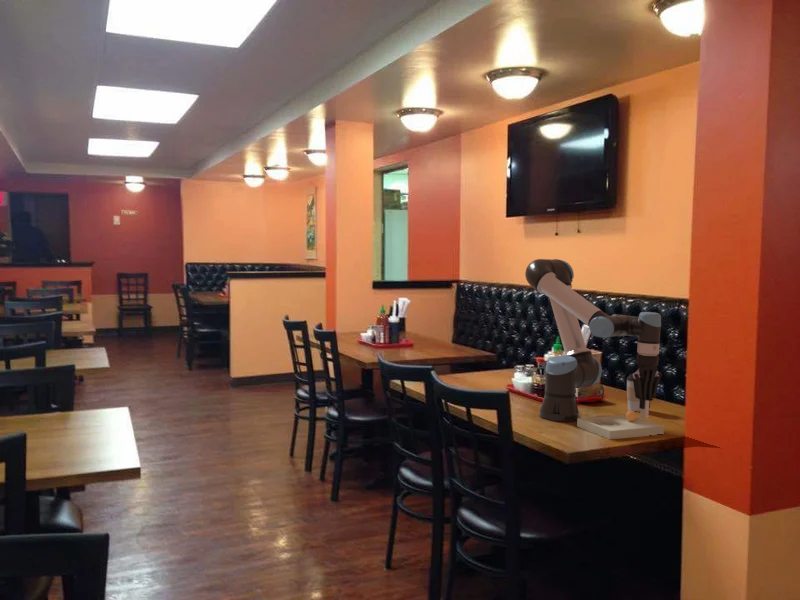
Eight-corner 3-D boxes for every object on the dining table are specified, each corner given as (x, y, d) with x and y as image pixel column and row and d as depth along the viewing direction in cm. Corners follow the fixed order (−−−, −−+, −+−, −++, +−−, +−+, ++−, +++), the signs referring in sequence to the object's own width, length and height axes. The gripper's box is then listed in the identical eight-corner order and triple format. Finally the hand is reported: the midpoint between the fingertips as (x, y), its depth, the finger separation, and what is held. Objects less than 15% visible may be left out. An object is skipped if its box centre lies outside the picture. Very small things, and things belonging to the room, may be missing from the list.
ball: (622, 420, 241) (623, 409, 241) (631, 419, 242) (632, 409, 242) (630, 423, 237) (631, 412, 237) (639, 422, 239) (639, 411, 238)
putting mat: (577, 426, 242) (577, 418, 242) (628, 422, 251) (629, 414, 251) (609, 439, 225) (610, 430, 225) (663, 434, 234) (664, 426, 234)
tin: (578, 404, 280) (579, 384, 280) (573, 402, 283) (574, 383, 282) (604, 401, 288) (605, 382, 287) (598, 399, 290) (599, 381, 290)
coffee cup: (627, 411, 268) (629, 375, 267) (622, 406, 277) (624, 371, 276) (650, 413, 267) (652, 376, 266) (644, 408, 276) (646, 372, 275)
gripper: (641, 356, 235) (637, 421, 236) (669, 355, 240) (665, 418, 241) (626, 353, 241) (623, 416, 243) (654, 352, 246) (650, 413, 248)
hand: (644, 417), depth 242 cm, fingers closed
